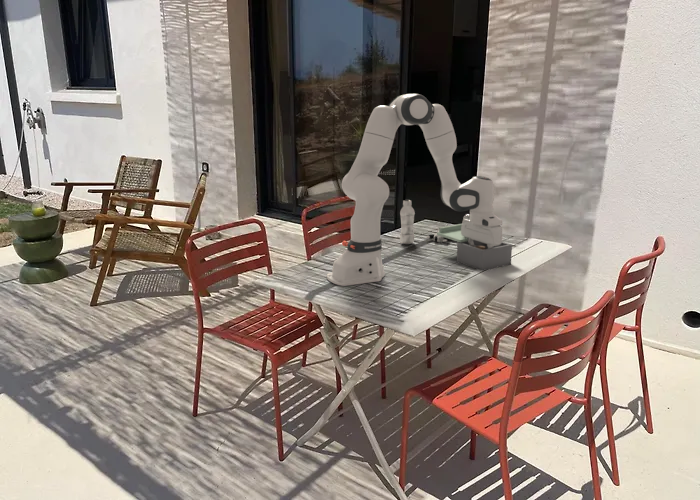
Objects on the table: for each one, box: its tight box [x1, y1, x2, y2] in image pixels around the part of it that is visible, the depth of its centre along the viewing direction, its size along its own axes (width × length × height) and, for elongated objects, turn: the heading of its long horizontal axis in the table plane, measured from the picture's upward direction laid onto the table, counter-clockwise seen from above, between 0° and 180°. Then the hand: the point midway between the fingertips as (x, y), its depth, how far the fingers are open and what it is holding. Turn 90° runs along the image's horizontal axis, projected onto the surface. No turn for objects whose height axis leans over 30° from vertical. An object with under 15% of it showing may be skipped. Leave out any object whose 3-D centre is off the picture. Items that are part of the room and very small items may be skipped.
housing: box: [456, 240, 513, 272], centre depth 224 cm, size 15×15×8 cm
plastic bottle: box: [399, 199, 416, 245], centre depth 252 cm, size 6×7×20 cm
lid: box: [436, 223, 468, 243], centre depth 233 cm, size 15×15×3 cm
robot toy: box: [425, 229, 449, 243], centre depth 259 cm, size 12×4×15 cm
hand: (480, 251), depth 222 cm, fingers open, 8 cm apart
